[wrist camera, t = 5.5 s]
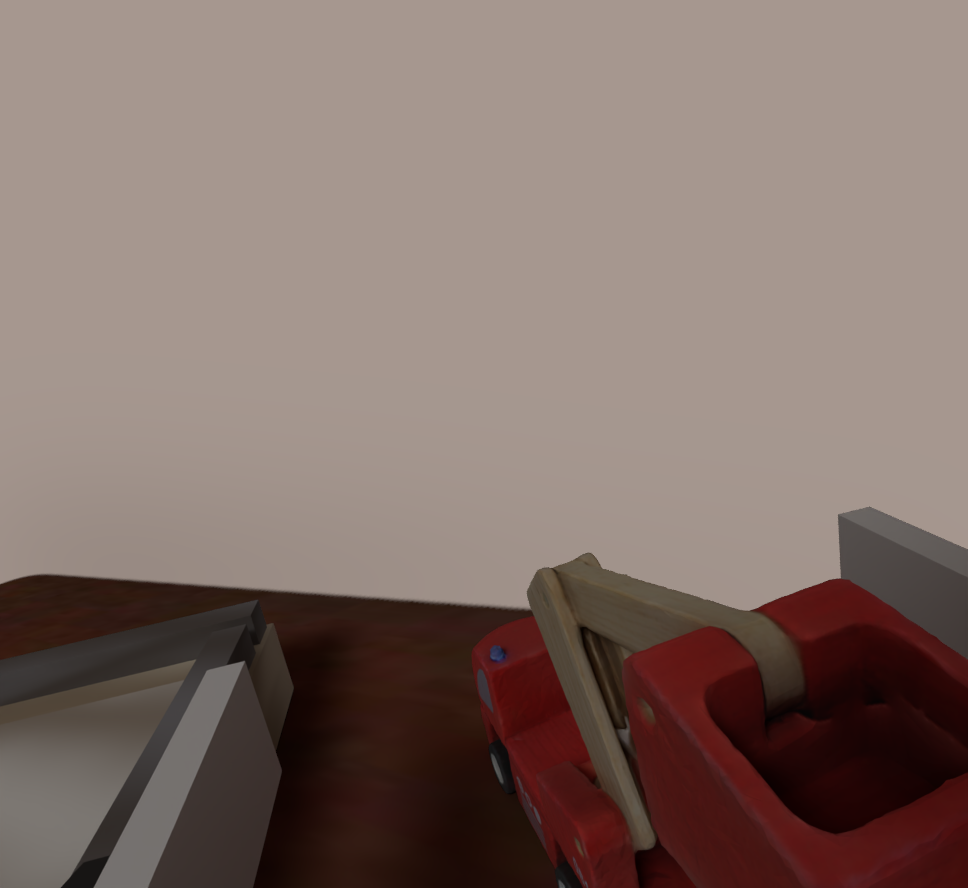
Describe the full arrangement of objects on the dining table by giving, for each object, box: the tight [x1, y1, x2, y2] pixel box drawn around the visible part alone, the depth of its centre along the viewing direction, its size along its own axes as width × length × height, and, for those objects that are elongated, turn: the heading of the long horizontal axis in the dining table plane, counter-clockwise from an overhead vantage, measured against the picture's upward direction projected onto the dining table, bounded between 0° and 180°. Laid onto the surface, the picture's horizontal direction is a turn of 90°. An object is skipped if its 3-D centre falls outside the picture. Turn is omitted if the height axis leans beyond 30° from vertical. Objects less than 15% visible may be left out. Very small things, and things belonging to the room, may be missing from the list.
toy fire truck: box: [472, 553, 968, 888], centre depth 12 cm, size 3×14×10 cm, turn 20°
